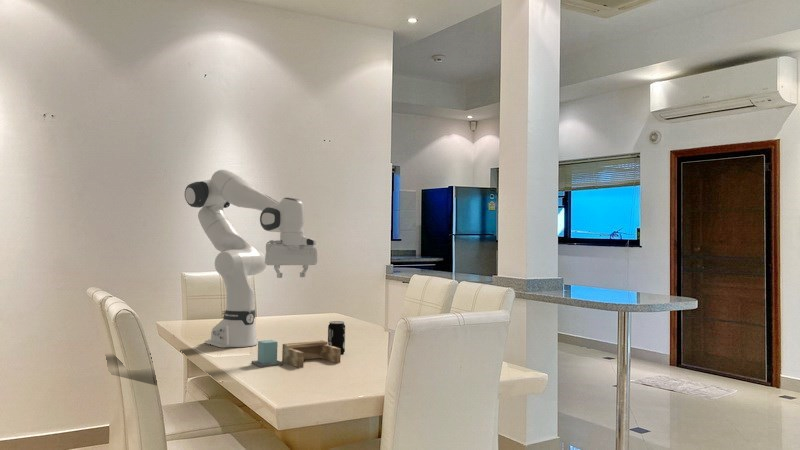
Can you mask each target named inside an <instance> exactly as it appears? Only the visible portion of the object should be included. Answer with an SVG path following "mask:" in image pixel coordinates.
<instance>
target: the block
mask: <svg viewBox="0 0 800 450" xmlns="http://www.w3.org/2000/svg"><path fill="white" fill-rule="evenodd" d="M257 360H258V362H260V363H263V364H266V363H275V362H277V360H278V341H276V340H273V339H266V340H265V339H264V340H258V342H257Z"/></svg>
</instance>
